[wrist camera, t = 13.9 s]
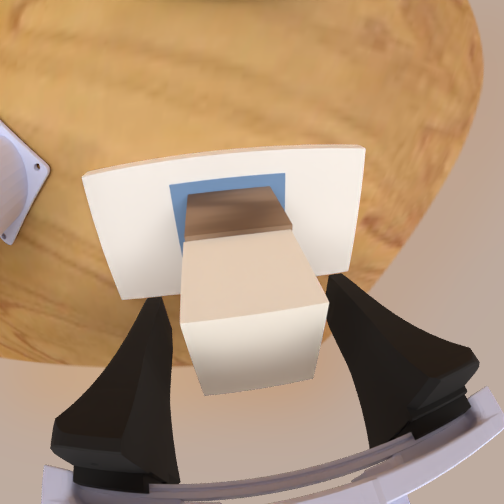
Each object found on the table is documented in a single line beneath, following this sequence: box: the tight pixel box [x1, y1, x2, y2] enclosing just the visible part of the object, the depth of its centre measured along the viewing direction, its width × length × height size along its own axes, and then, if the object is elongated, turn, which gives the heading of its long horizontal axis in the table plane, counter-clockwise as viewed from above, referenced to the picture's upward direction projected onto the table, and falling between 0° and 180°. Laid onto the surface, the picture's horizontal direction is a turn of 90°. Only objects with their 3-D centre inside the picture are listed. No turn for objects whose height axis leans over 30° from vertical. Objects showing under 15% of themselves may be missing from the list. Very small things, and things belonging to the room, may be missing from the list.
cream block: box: [180, 229, 329, 396], centre depth 13 cm, size 5×5×5 cm
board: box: [82, 144, 365, 300], centre depth 19 cm, size 18×10×1 cm, turn 92°
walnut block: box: [184, 186, 293, 242], centre depth 17 cm, size 5×5×5 cm
